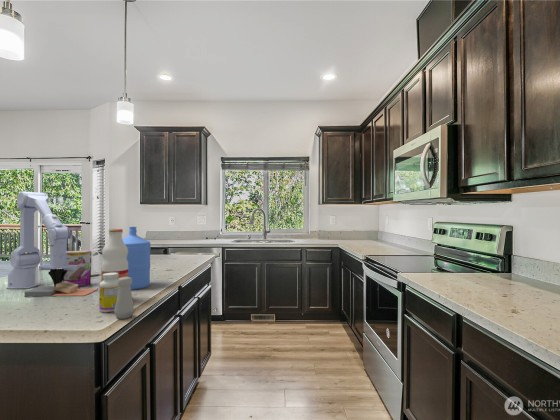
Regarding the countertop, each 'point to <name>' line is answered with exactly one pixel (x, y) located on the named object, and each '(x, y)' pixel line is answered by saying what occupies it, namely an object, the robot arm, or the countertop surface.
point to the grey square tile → (41, 292)
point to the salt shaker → (124, 299)
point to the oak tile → (66, 287)
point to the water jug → (138, 259)
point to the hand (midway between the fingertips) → (57, 287)
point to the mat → (76, 292)
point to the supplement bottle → (108, 292)
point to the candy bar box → (79, 268)
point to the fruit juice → (115, 255)
